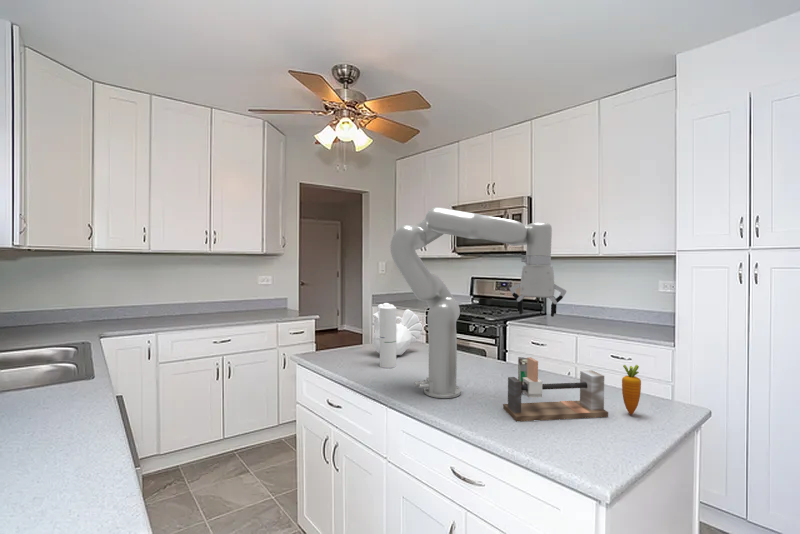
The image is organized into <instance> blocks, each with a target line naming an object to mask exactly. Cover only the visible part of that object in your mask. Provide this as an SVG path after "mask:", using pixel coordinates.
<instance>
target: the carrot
mask: <svg viewBox="0 0 800 534" xmlns="http://www.w3.org/2000/svg"><path fill="white" fill-rule="evenodd" d="M622 366H623V368H624V370H625V372H626V374H627V375H625V376H623V377H622V379H621V391H622V393H621V394H622V399H623V403H624V405H625V408H626V410H627V412H628V414H629V415H631V416H632V415H633V414H634V413H635V412H636V410H637V408H638V405H639V402H640V398H641V390H642V380H641V379H640V378H639V377H637V376H636V375H638V374H639V371H638V369H639V368H640V366H639V365H638V364H635V366H634V367H633V366H632V365H630V366H629V368H628V367H627V365H626V364H623V365H622Z"/></svg>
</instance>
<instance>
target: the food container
mask: <svg viewBox="0 0 800 534" xmlns="http://www.w3.org/2000/svg"><path fill="white" fill-rule="evenodd" d="M527 358H528V357H524V356H523V357H522V356H518V357H517V359H518V360H517V362H518V363H517V364H518V369H517V370H518V371H517V374H518V375H517V379H518V380H520V381H521V385H523V377H527ZM522 391H523V390H521V394H523V393H522Z"/></svg>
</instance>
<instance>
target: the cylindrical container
mask: <svg viewBox="0 0 800 534" xmlns="http://www.w3.org/2000/svg"><path fill="white" fill-rule="evenodd" d="M397 313H398V312H397V307H396V306H394V307H380V354H379V368H382V369H393V368H396V367H397V355H396V325H397V324H398V323H397V320H398V319H397V317H398V315H397Z"/></svg>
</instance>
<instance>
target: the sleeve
mask: <svg viewBox="0 0 800 534" xmlns="http://www.w3.org/2000/svg"><path fill="white" fill-rule="evenodd" d="M526 358H527V377H523V385H528V390H523V391H522V393H521V394H523V395H525V396H526V397H527V398H530V399H531V398H533V399H534V398H535V399H536V398H543V390H542V384H543V381H542V380H541V379H540V378H539V361H538V360H537V359H534V358H533V357H532V356H531V357H526Z"/></svg>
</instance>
